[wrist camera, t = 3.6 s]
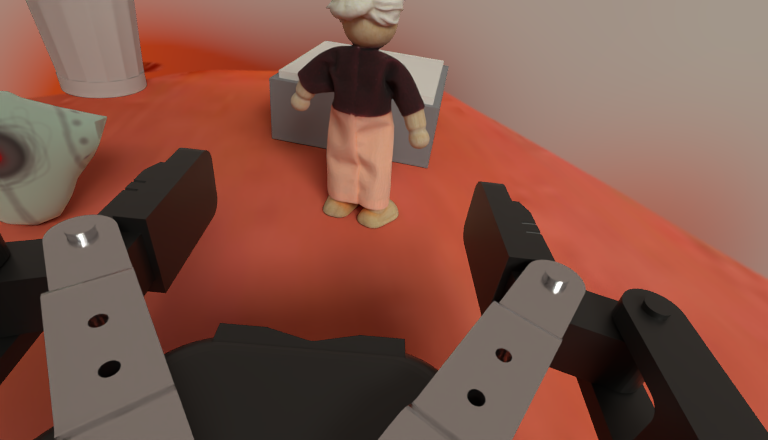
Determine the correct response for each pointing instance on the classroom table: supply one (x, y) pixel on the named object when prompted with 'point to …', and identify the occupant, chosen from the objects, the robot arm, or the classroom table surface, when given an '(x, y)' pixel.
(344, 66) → the grandmother figurine
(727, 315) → the classroom table surface
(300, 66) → the plinth
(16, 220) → the robot head
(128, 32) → the cup
